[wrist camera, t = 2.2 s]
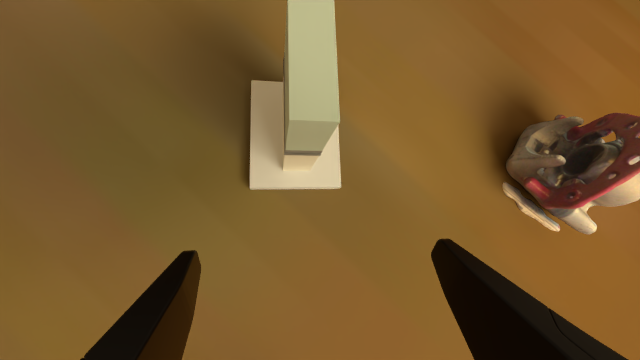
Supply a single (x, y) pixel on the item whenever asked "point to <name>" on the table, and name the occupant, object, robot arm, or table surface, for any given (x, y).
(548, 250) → the table surface
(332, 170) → the cream stepped block
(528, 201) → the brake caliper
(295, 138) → the pale green block
